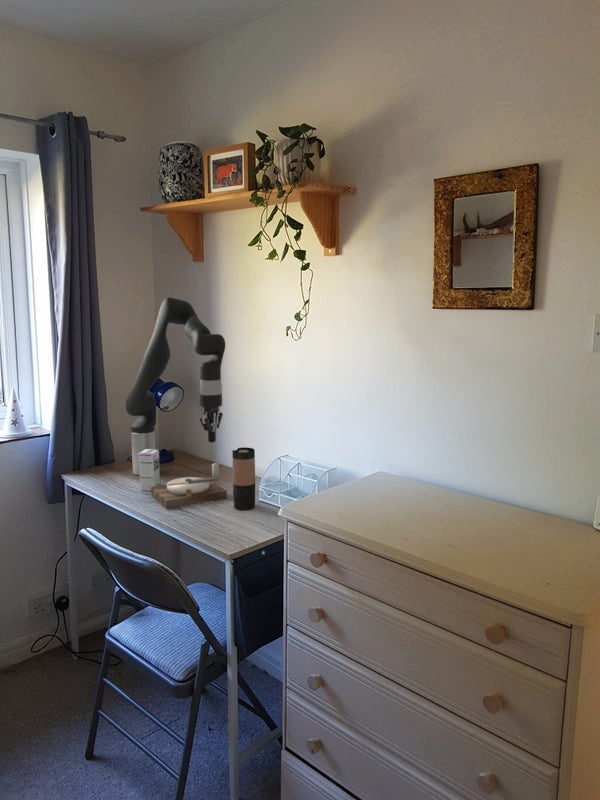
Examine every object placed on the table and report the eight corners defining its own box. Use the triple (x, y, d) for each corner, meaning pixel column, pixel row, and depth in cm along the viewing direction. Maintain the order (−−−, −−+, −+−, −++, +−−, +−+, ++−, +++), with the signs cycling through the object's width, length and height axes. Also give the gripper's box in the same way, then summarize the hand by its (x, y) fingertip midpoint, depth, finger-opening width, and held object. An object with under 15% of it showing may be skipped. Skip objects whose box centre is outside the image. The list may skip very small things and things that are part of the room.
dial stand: (151, 494, 232) (150, 480, 231) (208, 486, 242) (208, 472, 241) (166, 509, 216) (165, 493, 215) (226, 499, 227) (226, 484, 226)
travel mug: (256, 510, 215) (255, 452, 212) (233, 511, 214) (232, 453, 211) (254, 502, 222) (253, 446, 219) (232, 504, 221) (231, 447, 218)
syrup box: (154, 491, 236) (153, 453, 234) (139, 490, 238) (138, 452, 235) (161, 486, 242) (159, 449, 240) (146, 485, 243) (144, 448, 241)
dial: (214, 479, 240) (213, 458, 238) (224, 490, 226) (223, 468, 224) (163, 484, 233) (163, 463, 232) (170, 496, 219) (169, 474, 218)
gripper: (211, 395, 213) (213, 446, 215) (229, 390, 225) (230, 438, 228) (191, 394, 215) (193, 445, 218) (209, 389, 227) (211, 437, 230)
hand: (212, 441), depth 223 cm, fingers closed
